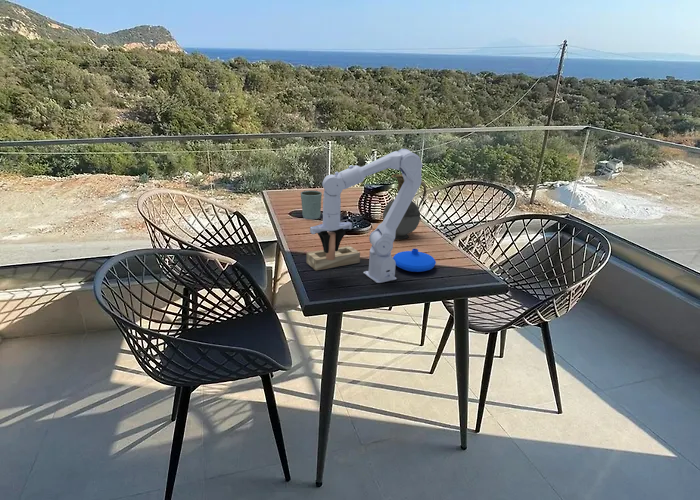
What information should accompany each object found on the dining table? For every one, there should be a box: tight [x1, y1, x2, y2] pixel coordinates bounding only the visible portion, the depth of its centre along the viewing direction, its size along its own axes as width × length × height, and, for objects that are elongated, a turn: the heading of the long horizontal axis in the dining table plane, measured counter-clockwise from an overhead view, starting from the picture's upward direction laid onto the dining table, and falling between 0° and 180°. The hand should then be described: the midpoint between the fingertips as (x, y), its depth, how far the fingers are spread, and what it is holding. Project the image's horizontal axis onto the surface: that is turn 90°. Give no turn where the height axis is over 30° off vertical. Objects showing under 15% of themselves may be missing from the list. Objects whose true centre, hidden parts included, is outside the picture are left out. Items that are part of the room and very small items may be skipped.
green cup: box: [300, 190, 323, 220], centre depth 218 cm, size 10×10×12 cm
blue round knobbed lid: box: [392, 248, 437, 273], centre depth 165 cm, size 16×16×7 cm
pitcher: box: [382, 173, 428, 240], centre depth 193 cm, size 11×19×30 cm, turn 112°
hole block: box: [306, 245, 361, 271], centre depth 166 cm, size 8×18×4 cm, turn 119°
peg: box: [326, 231, 336, 260], centre depth 151 cm, size 3×3×9 cm
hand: (330, 251), depth 151 cm, fingers closed on peg, 3 cm apart
